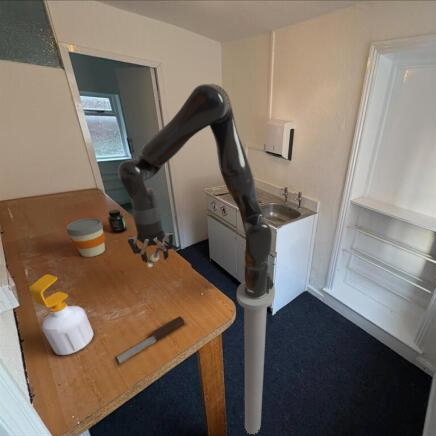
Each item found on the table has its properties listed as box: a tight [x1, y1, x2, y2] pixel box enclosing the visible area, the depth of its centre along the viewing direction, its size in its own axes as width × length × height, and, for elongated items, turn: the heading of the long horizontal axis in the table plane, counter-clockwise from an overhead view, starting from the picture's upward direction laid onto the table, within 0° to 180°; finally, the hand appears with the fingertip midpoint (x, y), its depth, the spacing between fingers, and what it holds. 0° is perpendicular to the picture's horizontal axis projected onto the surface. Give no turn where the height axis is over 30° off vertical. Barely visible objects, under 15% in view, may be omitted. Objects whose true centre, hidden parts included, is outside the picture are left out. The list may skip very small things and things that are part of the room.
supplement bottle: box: [107, 209, 127, 234], centre depth 128 cm, size 7×7×12 cm
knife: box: [116, 315, 185, 364], centre depth 73 cm, size 19×3×2 cm, turn 139°
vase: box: [147, 246, 163, 268], centre depth 84 cm, size 5×5×6 cm
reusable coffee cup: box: [66, 217, 106, 258], centre depth 109 cm, size 13×13×15 cm
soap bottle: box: [29, 273, 94, 356], centre depth 66 cm, size 9×9×25 cm
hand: (156, 259), depth 85 cm, fingers closed on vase, 5 cm apart
